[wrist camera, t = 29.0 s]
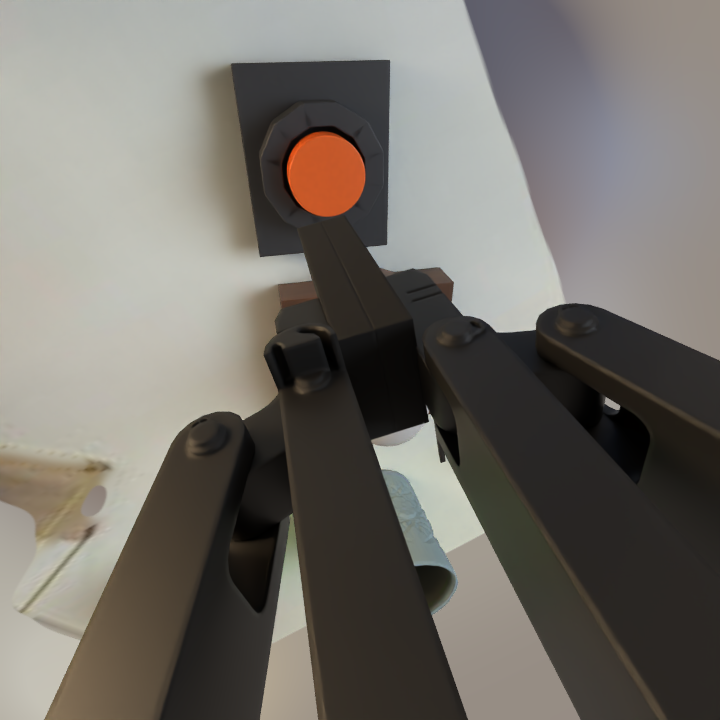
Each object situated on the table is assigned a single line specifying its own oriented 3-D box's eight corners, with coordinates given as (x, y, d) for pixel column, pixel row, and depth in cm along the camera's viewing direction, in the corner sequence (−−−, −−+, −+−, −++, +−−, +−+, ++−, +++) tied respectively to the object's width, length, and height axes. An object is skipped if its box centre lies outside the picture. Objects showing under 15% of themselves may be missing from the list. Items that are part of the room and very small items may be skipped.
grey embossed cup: (353, 535, 53) (378, 641, 44) (312, 491, 47) (331, 602, 38) (429, 498, 52) (471, 597, 43) (397, 448, 47) (438, 550, 37)
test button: (282, 132, 25) (284, 137, 24) (358, 129, 26) (365, 133, 24) (290, 211, 28) (293, 220, 26) (359, 206, 28) (366, 214, 27)
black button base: (231, 63, 26) (229, 63, 23) (381, 60, 27) (400, 60, 24) (259, 247, 32) (260, 268, 29) (380, 236, 33) (394, 254, 30)
